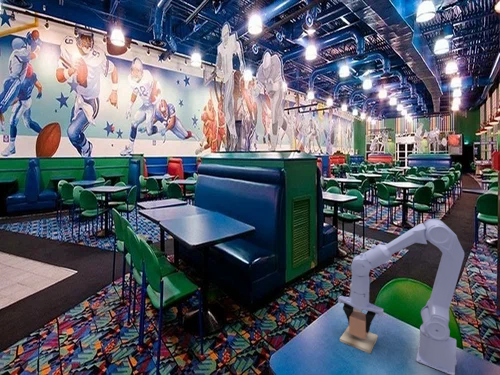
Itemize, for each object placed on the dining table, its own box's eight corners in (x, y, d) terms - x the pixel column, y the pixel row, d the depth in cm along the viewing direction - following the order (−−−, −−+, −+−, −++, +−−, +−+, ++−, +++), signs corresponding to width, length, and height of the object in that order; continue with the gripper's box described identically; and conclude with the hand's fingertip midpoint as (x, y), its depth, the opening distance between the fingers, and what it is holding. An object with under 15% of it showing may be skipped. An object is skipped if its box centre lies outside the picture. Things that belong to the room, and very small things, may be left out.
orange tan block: (368, 331, 91) (369, 315, 91) (364, 339, 87) (365, 322, 87) (353, 326, 95) (354, 310, 94) (349, 333, 90) (349, 316, 90)
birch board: (377, 337, 92) (377, 335, 92) (370, 353, 84) (370, 351, 84) (349, 327, 98) (349, 324, 98) (339, 341, 90) (339, 338, 90)
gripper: (385, 292, 88) (384, 330, 89) (343, 281, 97) (342, 315, 98) (381, 300, 83) (379, 341, 84) (336, 288, 92) (335, 324, 93)
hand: (359, 328), depth 91 cm, fingers closed on orange tan block, 5 cm apart
